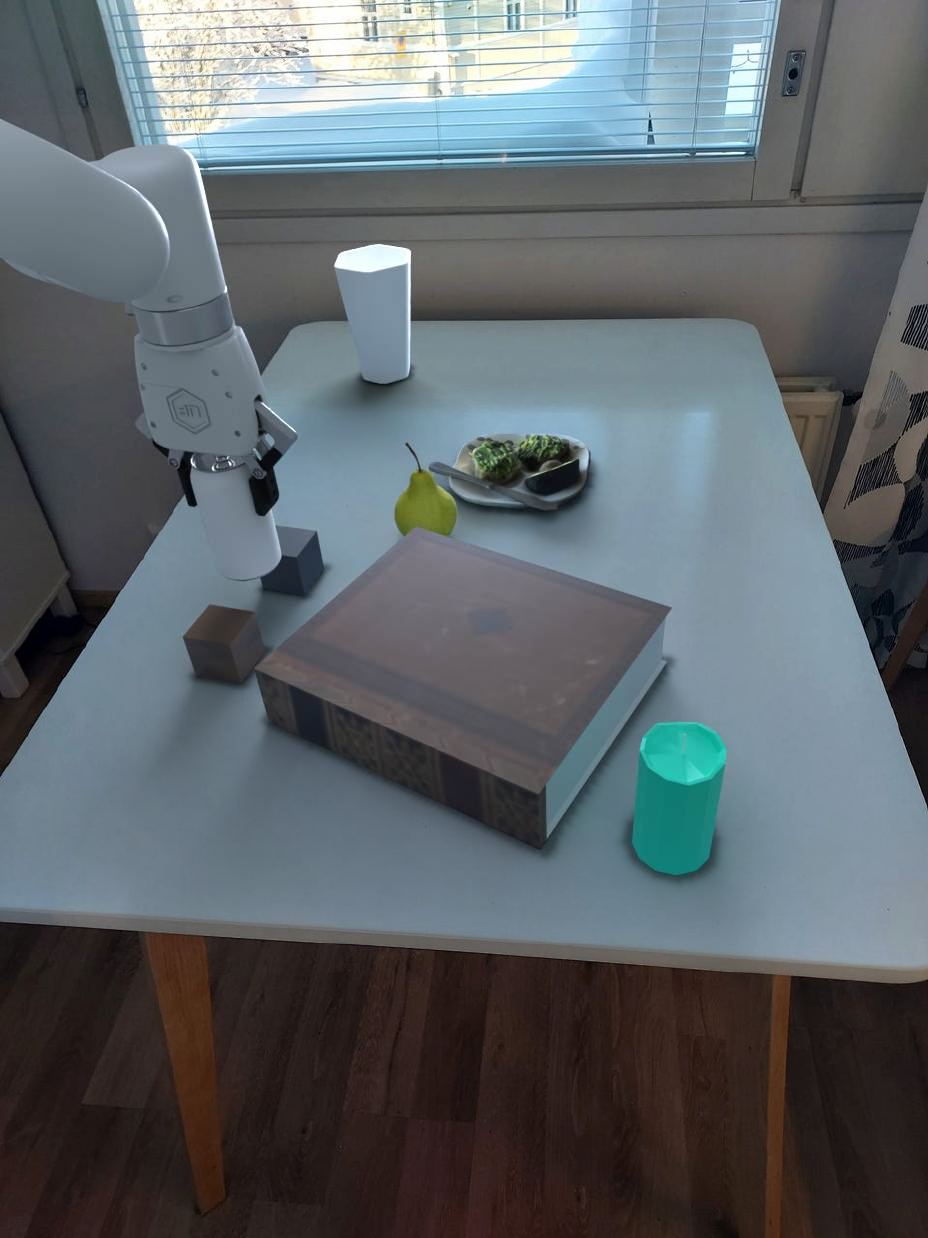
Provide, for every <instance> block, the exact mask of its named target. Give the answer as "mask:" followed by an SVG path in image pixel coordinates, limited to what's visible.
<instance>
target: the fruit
mask: <svg viewBox="0 0 928 1238" xmlns="http://www.w3.org/2000/svg"><path fill="white" fill-rule="evenodd" d="M404 445H405V447H407V448H408V450H409V451H410V453H411V454H412V456H413V457H414V458H415V461H416V464H417V468H416V469H415V470H414V471H412V473H411V474H410V478H409V484H408V486H407V488H405V490H404V491H403V492H402V493H401V494H400V496H399V497H398V498H397V500H396V502H395V506H394V511H393V513H394V514H393V517H394V522H395V525H396V528H397V529H398V531H399V532H400V534H401V535H402V536H403V537H404V536H405V535H407V534H408V533H409V532H410V531H411V530H412V529H413V528H415V527H419V528H422V529H425V530H428V531H431V532H434V533H438V534H441V535H444V536H447V537H450V535H451V534H452V532H453V530H454V528H455V525H456V522H457V518H458V509H457V503H456V500H455V498H454V497H453V496H452V495H451V494H450V492H448V491H447V490H445V489H444V488H442V487H441V486H439V485H438V484H437V483H436V481H435V477H434V476H433V473H432V472H431V471H430V470H429V469H425V468H422V467H421V464H420V461H419V459H418V458H419V457H418V456H417V454H416V452H415V451H414V449H413V448H412V447H411V445H410V444H409V442H408V441H406V442H405V443H404Z"/></svg>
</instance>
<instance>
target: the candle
mask: <svg viewBox="0 0 928 1238" xmlns="http://www.w3.org/2000/svg"><path fill="white" fill-rule="evenodd" d="M727 753H728V748H727V747H726V744H725V743H724V742H723V740H722V738H721V735H720V734H719V732H718V731H715V730H714V729H713V728H710V727H709V726H706V725H705V724H703V723H701V722H697V721H695V722H693V721H673V722H672V721H671V722H656V723H655V724H654V725H653V726H652V728H650V729H649V730H648V732H646V733H645V734H644V735H643V736H642V739H641V743H640V748H639V752H638V763H637V764H638V766H637V777H636V791H635V800H634V801H635V802H634V812H633V813H634V815H633V824H632V825H633V827H632V839H631V844H632V845H633V848H634V850H635V852H636V854H637V857H638V860H640V861H641V862H643V863H644V864H646V865H647V866H648V867H649V868H651V869H653V870H654V871H655V872H659V873H662V874H663V873H664V874H667V875H668V874H669V875H672V876H680V875H684V874H688V873H692V872H697V871H698V870H699V869H700V868H701V867H702V866H703V865H704V864H705V863H707V861H708V860H709V859H710V855H711V849H712V844H713V838H714V832H715V827H716V821H717V820H716V819H717V814H718V808H719V802H720V797H721V791H722V785H723V779H724V773H725V767H726V759H727Z"/></svg>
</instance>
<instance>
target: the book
mask: <svg viewBox="0 0 928 1238" xmlns="http://www.w3.org/2000/svg"><path fill="white" fill-rule="evenodd" d="M672 609H673V607H672V606H668V605H666V604H662V603H660V602H656V601H653V600H650V599H647V598H644V597H641V596H637V595H634V594H631V593H628V592H624V591H621V590H618V589H615V588H611V587H608V586H605V585H603V584H599V583H596V582H593V581H590V580H586V579H583V578H580V577H577V576H574V575H570V574H568V573H564V572H562V571H558V570H554V569H551V568H548V567H545V566H542V565H540V564H539V565H538V564H535V563H532V562H529V561H527V560H523V559H520V558H517V557H513V556H511V555H508V554H505V553H500V552H497V551H494V550H491V549H488V548H485V547H482V546H478V545H475V544H472V543H469V542H466V541H463V540H459V539H456V538H454V537H450V536H448V537H447V536H444V535H441V534H438V533H434V532H431V531H428V530H425V529H422V528H419V527H415V528H413V529H412V530H411V531H410V532H409V533H408V534H407V535H405V536H403V537H402V538H401V539H399V540H398V541H397V542H396V543H395V544H394V545H392V546H391V548H389V549H388V550H387V551H386V552H385V553H384V554H382V556H380V557H379V558H378V559H377V560H376V561H374V563H372V564H371V565H370V566H369V567H367V569H365V570H364V571H362V573H360V574H359V575H358V576H357V577H356V578H355V579H354V580H353V581H352V582H350V583H349V584H348V585H347V586H346V587H345V588H343V589H342V590H341V591H340V592H339V593H338V594H337V595H336V596H334V597H333V598H332V599H331V600H330V601H329V602H328V603H326V604H325V605H324V606H323V607H322V608H321V609H319V610H318V611H317V612H316V613H315V614H314V615H313V616H312V617H311V618H309V619H308V620H307V621H306V622H305V623H304V624H302V625H301V626H300V627H299V628H298V629H297V630H295V631H294V632H293V633H292V634H291V635H289V637H287V638H286V639H285V640H284V641H283V642H282V643H281V644H279V645H278V646H277V647H276V648H275V649H274V650H272V652H270V654H268V655H267V656H266V657H265V658H264V659H262V660H261V661H260V662H259V663H257V664H256V665H255V666H254V667H253V671H254V674H255V679H256V681H257V685H258V689H259V692H260V696H261V699H262V703H263V707H264V709H265V713H266V714H265V715H266V716H267V720H268V722H269V723H271V724H272V725H275V726H278V727H280V728H282V729H284V730H286V731H288V732H290V733H292V734H295V735H297V736H299V737H301V738H302V739H305V740H306V741H309V742H311V743H314V744H315V745H318V746H319V747H323V748H324V749H326V750H328V751H330V752H332V753H334V754H337V755H339V756H341V757H343V758H344V759H347V760H349V761H352V762H353V763H355V764H358V765H360V766H362V767H364V768H366V769H368V770H371V771H373V772H374V773H376V774H379V775H381V776H383V777H385V778H387V779H389V780H391V781H394V782H396V783H398V784H400V785H402V786H404V787H406V788H408V789H411V790H412V791H415V792H417V793H419V794H421V795H423V796H426V797H428V798H430V799H432V800H434V801H435V802H438V803H440V804H442V805H445V806H446V807H448V808H451V809H453V810H455V811H457V812H460V813H462V814H463V815H465V816H468V817H470V818H472V819H474V820H476V821H479V822H480V823H482V824H484V825H487V826H488V827H491V828H493V829H495V830H497V831H499V832H501V833H504V834H506V835H507V836H510V837H512V838H514V839H516V840H518V841H520V842H522V843H525V844H526V845H529V846H532V847H534V848H536V849H538V850H541V848H542V847H543V845H544V844H545V842H546V841H547V840H548V839H549V836H550V835H551V834H552V832H553V831H554V830H555V828H556V826H557V825H558V823H559V822H560V820H561V819H562V817H563V816H564V814H565V813H566V812H567V810H568V809H569V807H570V806H571V804H572V803H573V801H574V800H575V798H576V797H577V795H578V794H579V792H580V791H581V790H582V788H583V786H584V785H585V783H586V782H587V781H588V779H589V778H590V776H591V775H592V773H593V772H594V770H595V769H596V767H597V766H598V764H599V763H600V761H601V760H602V759H603V757H604V755H605V754H606V753H607V752H608V750H609V748H610V747H611V745H612V744H613V742H614V741H615V740H616V738H617V737H618V735H619V734H620V732H621V730H622V729H623V727H624V726H625V725H626V723H627V722H628V720H629V719H630V718H631V716H632V715H633V713H634V712H635V710H636V708H637V707H638V705H639V704H640V702H642V700H643V698H644V697H645V695H646V694H647V693H648V691H649V690H650V688H651V686H652V685H653V684H654V682H655V680H656V679H657V677H658V676H659V675H660V673H661V671H662V670H663V669H664V667H665V666H666V665H667V663H668V662H667V661H665V660H662V659H663V648H664V637H665V627H666V618H667V616H668V614H669V613H670V612H671V611H672Z"/></svg>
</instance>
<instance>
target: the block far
mask: <svg viewBox="0 0 928 1238" xmlns="http://www.w3.org/2000/svg"><path fill="white" fill-rule="evenodd" d="M275 527H276V531H277V536H278V540H279V545H280V549H281V560H280V562H279V563H278V565H277V566H276V568H275V569H274V570H273V571H271V572H270V573H268V574H267V575H265V576H263V577H260V578H259V579H260V583H261V586H262V589H263V590H268V591H273V592H281V593H287V594H293V595H300V596H306V594H307V593H308V592H309V590H310V589H311V587H312V586H313V585H314V583H316V581H317V580H318V578H319V576H320V575H321V574H322V572H323V571H324V569H325V565H324V562H323V561H324V560H323V554H322V551H321V545H320V544H321V543H320V540H319V535H318V531H317V530H315V529H306V528H299V527H293V526H292V527H291V526H285V525H277V524H275Z"/></svg>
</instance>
